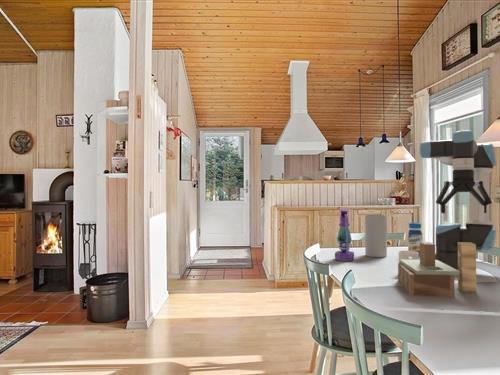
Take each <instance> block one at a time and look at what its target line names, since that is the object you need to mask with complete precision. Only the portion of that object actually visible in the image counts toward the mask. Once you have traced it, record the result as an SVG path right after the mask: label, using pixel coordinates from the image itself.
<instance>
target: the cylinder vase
mask: <svg viewBox="0 0 500 375" xmlns="http://www.w3.org/2000/svg"><path fill="white" fill-rule="evenodd" d="M364 215H365V217H364V224H365V227H364V228H365V229H364V230H365V231H364V232H365V233H364V235H365V236H364V237H365V245H364V246H365V251H364V252H365V256H366V257H370V258H380V259H381V258H385V257H387V255H388V251H387V250H388V249H387V247H388V243H387V242H388V241H387V240H388V237H387V232H388V231H387V215H386V214H364Z"/></svg>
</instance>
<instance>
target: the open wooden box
mask: <svg viewBox="0 0 500 375" xmlns="http://www.w3.org/2000/svg"><path fill="white" fill-rule="evenodd" d="M397 266H398V267H397V277H398V278H397V281H398V282H399V284H401V286H402V287H403V289H404V290H405V291H406V292H407V293H408V295H409V296H424V297H444V298H445V297H447V298H448V297H449V298H453V297H454V298H455V275H419V274H415V273H414V272H412V271H411V270H409V269H408V268H406V267H405V266H404V265H402V264H401V263H399V262H398V263H397Z"/></svg>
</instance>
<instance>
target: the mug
mask: <svg viewBox="0 0 500 375" xmlns="http://www.w3.org/2000/svg"><path fill="white" fill-rule="evenodd" d="M400 259H405V260H420V256H419V253H418V252H416V251H408V250H399V251H398V263H400Z"/></svg>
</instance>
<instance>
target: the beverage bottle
mask: <svg viewBox="0 0 500 375" xmlns="http://www.w3.org/2000/svg"><path fill="white" fill-rule="evenodd" d="M408 228H409V230H408V232H407V235H408V236H407V244H408V245H407V251H416V252H418V253H419V257H420V242H423V232H422V230H421V228H422V223H421V222H409V223H408Z"/></svg>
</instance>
